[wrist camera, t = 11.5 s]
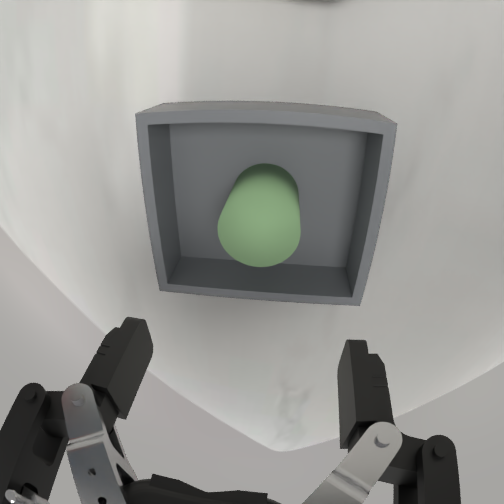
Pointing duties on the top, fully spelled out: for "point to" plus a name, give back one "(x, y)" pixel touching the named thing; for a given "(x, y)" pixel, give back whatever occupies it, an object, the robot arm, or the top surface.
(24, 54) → the top surface
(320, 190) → the bin
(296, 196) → the cucumber chunk
